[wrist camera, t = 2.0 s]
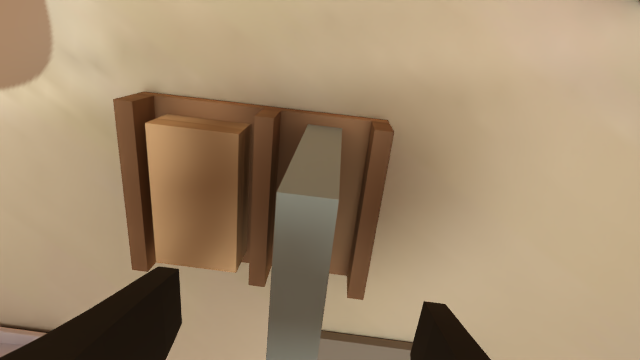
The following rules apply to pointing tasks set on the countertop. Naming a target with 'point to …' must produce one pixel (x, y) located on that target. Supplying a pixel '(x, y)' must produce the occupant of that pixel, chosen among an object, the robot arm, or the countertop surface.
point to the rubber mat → (361, 348)
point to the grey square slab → (304, 245)
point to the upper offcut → (196, 193)
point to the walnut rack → (264, 177)
